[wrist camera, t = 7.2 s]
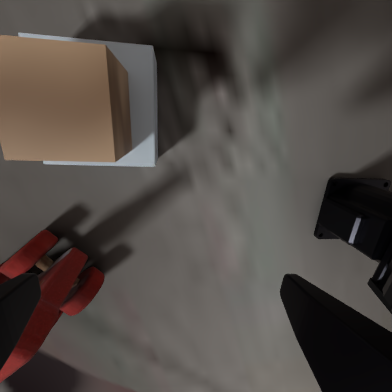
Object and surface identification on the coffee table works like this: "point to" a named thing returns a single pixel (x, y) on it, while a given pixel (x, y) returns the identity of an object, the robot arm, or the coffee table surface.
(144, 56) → the base block
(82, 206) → the coffee table surface
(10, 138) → the walnut cube
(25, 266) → the toy fire truck
